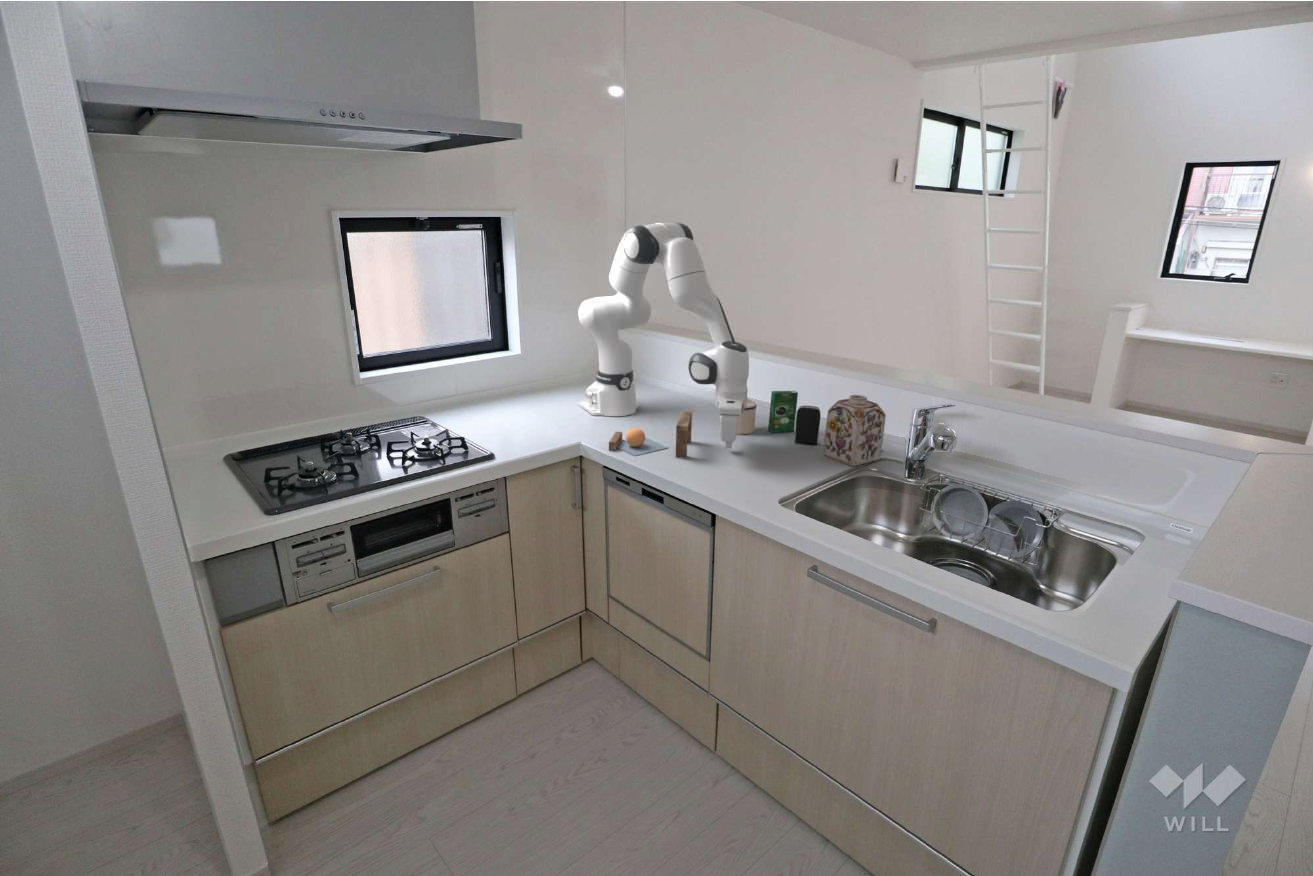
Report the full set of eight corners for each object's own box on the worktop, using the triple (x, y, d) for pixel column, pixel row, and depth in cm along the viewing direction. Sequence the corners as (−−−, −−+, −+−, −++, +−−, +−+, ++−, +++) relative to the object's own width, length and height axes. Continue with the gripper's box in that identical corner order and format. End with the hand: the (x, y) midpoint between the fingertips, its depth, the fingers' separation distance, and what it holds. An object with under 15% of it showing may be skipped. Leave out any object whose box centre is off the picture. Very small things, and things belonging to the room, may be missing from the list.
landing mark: (611, 444, 199) (611, 444, 199) (644, 437, 206) (644, 436, 206) (634, 456, 190) (634, 455, 190) (668, 448, 197) (668, 447, 197)
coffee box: (791, 429, 216) (794, 389, 212) (795, 432, 213) (798, 391, 209) (767, 430, 214) (770, 390, 210) (770, 433, 212) (773, 392, 207)
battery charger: (818, 441, 204) (821, 405, 201) (817, 445, 201) (821, 409, 197) (794, 439, 206) (797, 403, 202) (793, 443, 203) (797, 407, 199)
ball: (633, 421, 195) (650, 431, 196) (629, 429, 200) (645, 438, 201) (625, 437, 193) (642, 446, 193) (621, 444, 198) (637, 453, 198)
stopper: (608, 450, 194) (608, 442, 193) (615, 439, 204) (615, 431, 203) (615, 450, 194) (615, 442, 193) (622, 439, 203) (622, 431, 203)
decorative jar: (853, 467, 184) (860, 404, 179) (821, 455, 193) (827, 394, 188) (882, 459, 191) (890, 398, 185) (850, 448, 200) (856, 389, 194)
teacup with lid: (758, 429, 216) (761, 393, 212) (749, 437, 208) (752, 400, 204) (723, 423, 221) (725, 389, 217) (713, 431, 213) (714, 395, 209)
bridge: (675, 457, 190) (676, 425, 187) (681, 440, 203) (682, 411, 200) (686, 458, 189) (687, 426, 186) (691, 441, 203) (692, 411, 200)
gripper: (721, 390, 200) (719, 434, 204) (717, 409, 181) (715, 458, 185) (743, 391, 199) (740, 436, 203) (741, 410, 180) (738, 459, 184)
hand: (728, 446), depth 194 cm, fingers closed
